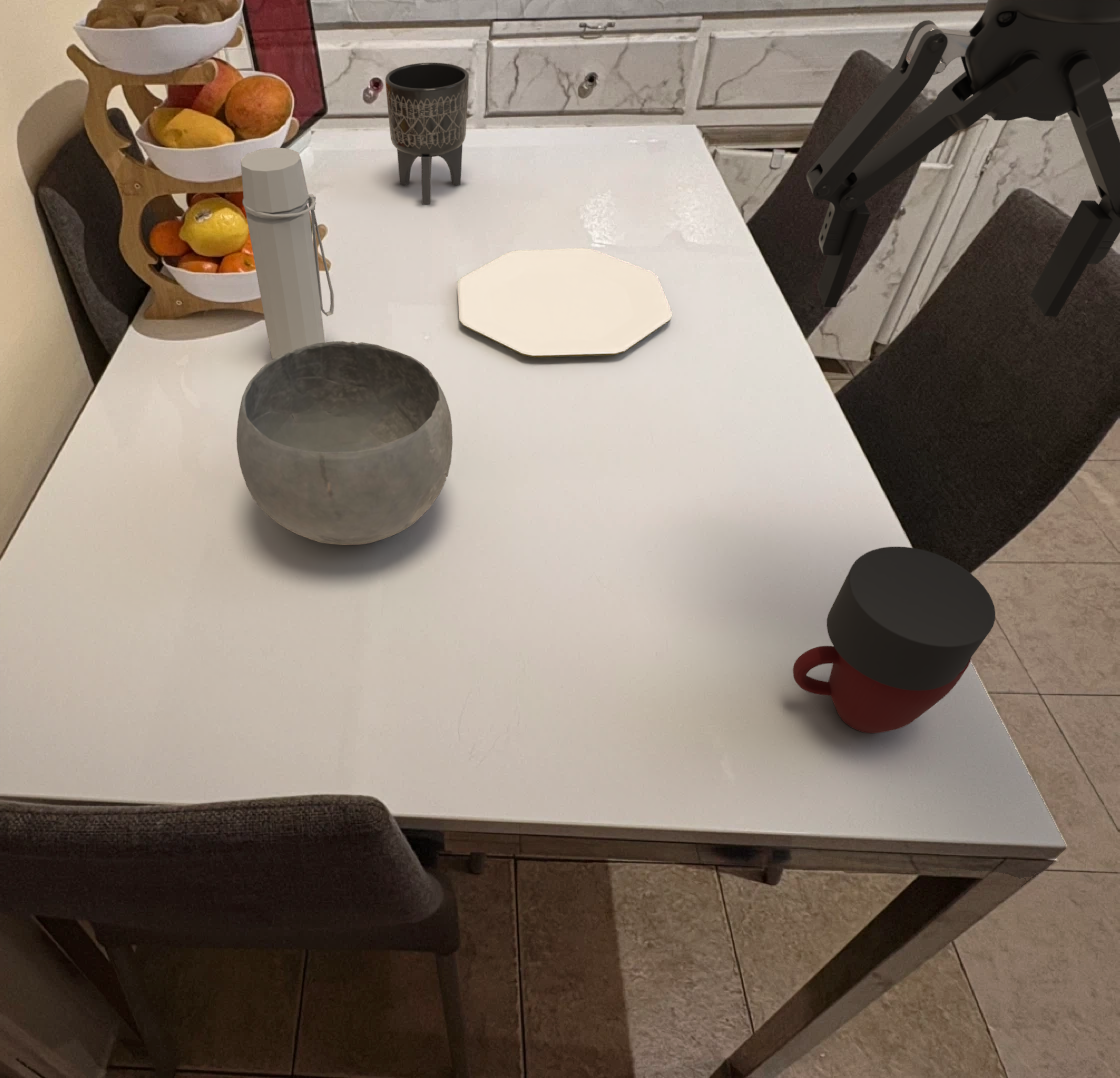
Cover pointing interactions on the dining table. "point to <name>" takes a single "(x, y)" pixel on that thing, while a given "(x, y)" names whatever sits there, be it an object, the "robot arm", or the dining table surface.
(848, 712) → the mug
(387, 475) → the bowl
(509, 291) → the plate
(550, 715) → the dining table surface
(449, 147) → the planter
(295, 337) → the water bottle
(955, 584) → the puck
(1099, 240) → the robot arm
